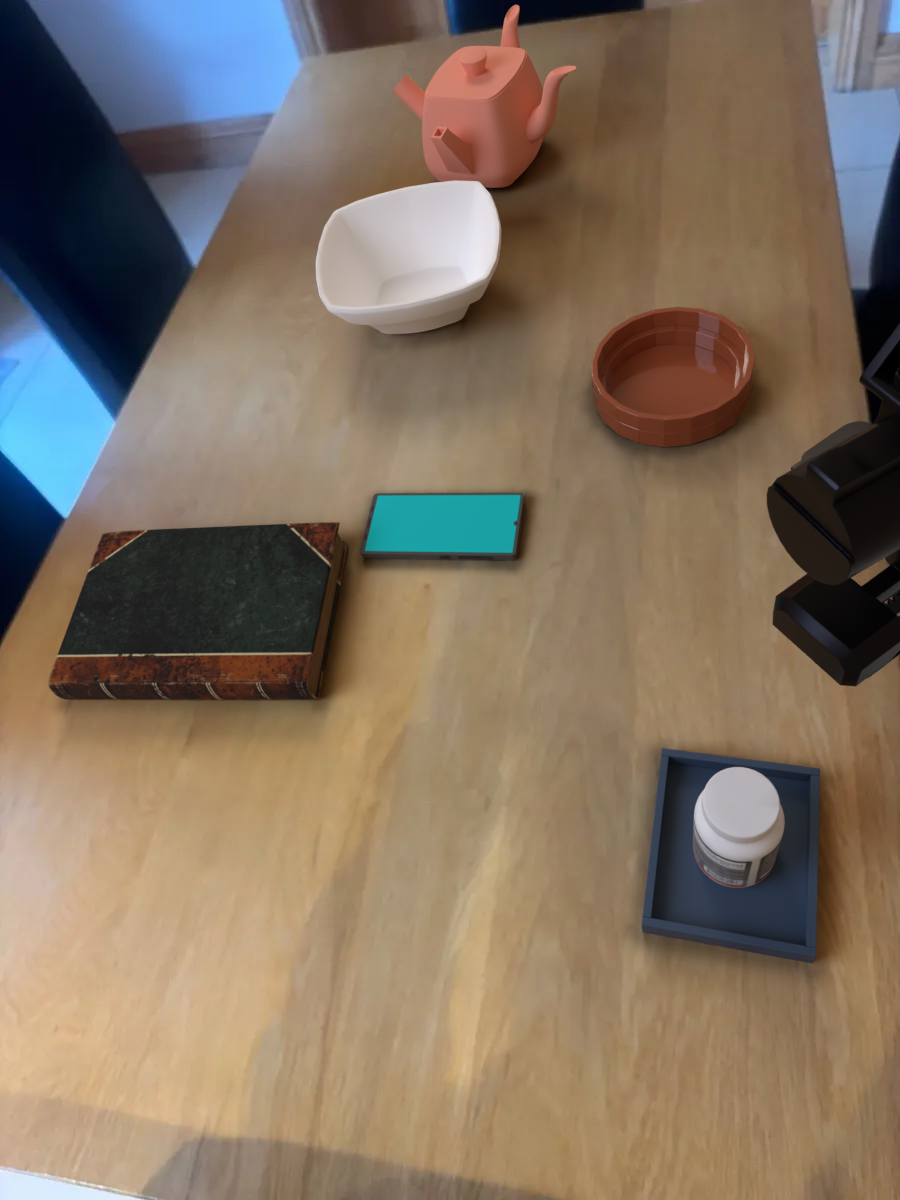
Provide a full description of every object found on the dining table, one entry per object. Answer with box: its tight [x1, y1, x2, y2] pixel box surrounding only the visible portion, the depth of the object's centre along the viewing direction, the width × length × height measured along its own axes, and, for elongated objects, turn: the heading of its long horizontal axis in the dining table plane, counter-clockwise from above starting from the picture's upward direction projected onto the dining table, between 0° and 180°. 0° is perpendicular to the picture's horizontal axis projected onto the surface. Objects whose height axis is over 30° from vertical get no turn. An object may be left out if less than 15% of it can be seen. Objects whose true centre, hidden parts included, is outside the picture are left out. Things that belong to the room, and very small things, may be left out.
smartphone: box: [359, 492, 526, 561], centre depth 87 cm, size 7×1×15 cm
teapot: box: [392, 4, 577, 189], centre depth 113 cm, size 18×18×14 cm
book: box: [47, 521, 349, 701], centre depth 85 cm, size 17×4×25 cm
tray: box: [641, 747, 821, 964], centre depth 65 cm, size 13×11×2 cm
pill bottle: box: [693, 767, 785, 888], centre depth 61 cm, size 6×6×10 cm
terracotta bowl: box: [590, 306, 756, 448], centre depth 89 cm, size 15×15×4 cm
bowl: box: [315, 181, 502, 335], centre depth 102 cm, size 21×21×9 cm
